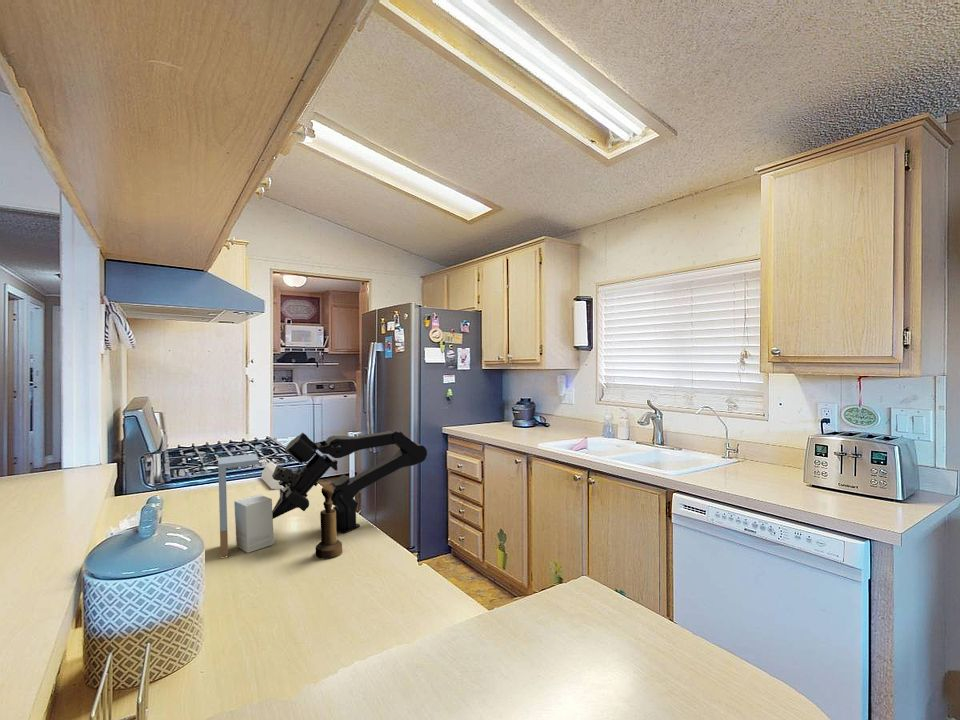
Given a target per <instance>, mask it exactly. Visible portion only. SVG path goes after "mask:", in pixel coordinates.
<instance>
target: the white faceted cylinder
mask: <svg viewBox="0 0 960 720" xmlns="http://www.w3.org/2000/svg"><path fill="white" fill-rule="evenodd" d="M276 466H277V465H276V464H275V463H274V462H272V461H269V462H268V463H267V464H266V465H265V467H264V468H263V470H262V473H261V479H262V480H263V482H265V484H266V485H267V486H268V487H269V488H270V489H272V490H275V489H277V490H279V489H282V490H283V488H284V487H283V486H282V485H279V483H278V482H279V481H280V480H279V481H277V480H274V479H273V477H272V475H273V473H274V471H275V468H276Z"/></svg>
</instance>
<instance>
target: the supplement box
mask: <svg viewBox="0 0 960 720" xmlns="http://www.w3.org/2000/svg"><path fill="white" fill-rule="evenodd" d="M233 503H234V521H235V539H236V540H235V543H236V547H237V548H239V549H241V550H242V551H244V552H246V553H252V552H254V551H258V550H261V549H264V548H266V547H267V548H268V547H270V546H273V545H274V544H275V540H274V538H275V537H274V519H273V514H272V511H273V498H270V497H268V496H265V495H262V493H261V494H256V495H253V496H249V497H245V498H241V499H238V500H237V499H236V500H234V502H233Z"/></svg>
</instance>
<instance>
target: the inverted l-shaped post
mask: <svg viewBox="0 0 960 720" xmlns="http://www.w3.org/2000/svg"><path fill="white" fill-rule="evenodd" d="M257 465H260V459H259V457H258V455H257V453H252V454H251V453H250V454H249V453H248V454H239V455H231V456H224V457H223V456H221V457H218V458H217V466H218V469H217V470H218V471H217V473H218V501H219V503H218V504H219V534H220V535H219V536H220V537H219V538H220V539H219V541H220V542H219V546H220V558H221V557H226V556H228V557H229V543H228V542H229V541H228V539H229V538H228V533H229V532H228V506H227V505H228V503H227V501H228V498H227V469H231V468H239V467H247V466H257ZM226 558H227V557H226Z"/></svg>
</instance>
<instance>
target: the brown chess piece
mask: <svg viewBox="0 0 960 720" xmlns="http://www.w3.org/2000/svg"><path fill="white" fill-rule="evenodd" d="M333 492H334V488H333V486H332V485H330V483H329V484H328V483H327V484H325V485H322V488H321V494H322V496H323V497H324V501H323V507H324V509H322V510H320V513H319V514H320V515H319V518H320V542H318V544H317V545H316V546H315V557H316V558H317V557H318V558H317V559H321V558H324V559H326V558H328V559H332V558H336V557H338V555H339V556H341V555H342V553H343V542H342V541H340V540H339V539H337V537H338V536H337V531H336V510H334V509H333V504H332V503H333V502H332V501H331V496H332V494H333Z"/></svg>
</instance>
